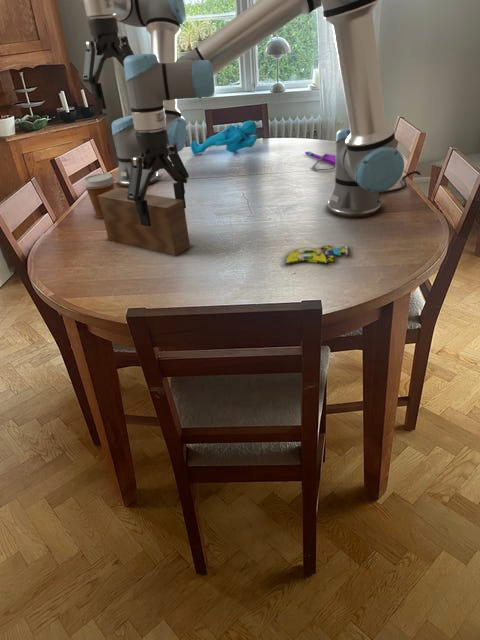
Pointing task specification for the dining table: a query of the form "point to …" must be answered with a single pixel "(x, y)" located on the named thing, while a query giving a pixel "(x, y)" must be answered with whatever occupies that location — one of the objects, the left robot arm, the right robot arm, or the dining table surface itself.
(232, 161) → the dining table surface
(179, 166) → the right robot arm
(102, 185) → the disposable coffee cup
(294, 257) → the toy
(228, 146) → the toy
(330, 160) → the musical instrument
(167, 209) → the box
